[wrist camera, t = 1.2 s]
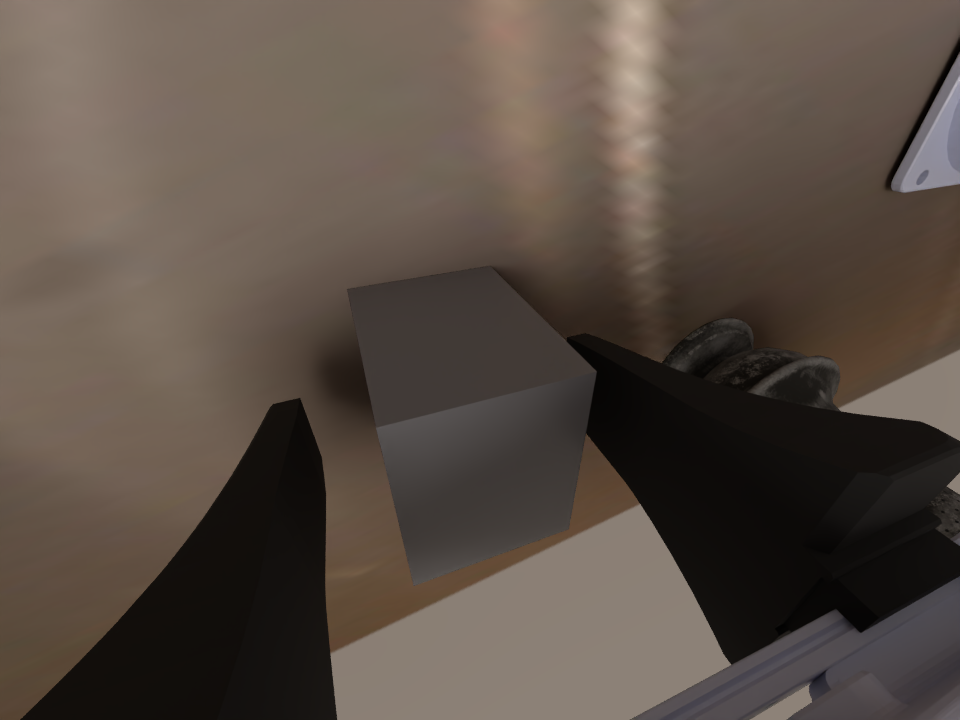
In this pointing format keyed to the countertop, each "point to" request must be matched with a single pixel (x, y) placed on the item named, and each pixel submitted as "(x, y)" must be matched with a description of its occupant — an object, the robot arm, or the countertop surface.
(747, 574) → the robot arm
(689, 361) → the weathered stone finial
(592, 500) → the countertop surface
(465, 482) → the plug
